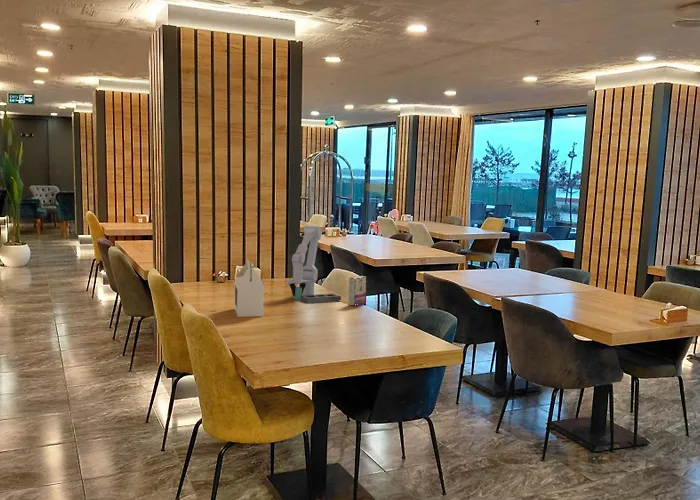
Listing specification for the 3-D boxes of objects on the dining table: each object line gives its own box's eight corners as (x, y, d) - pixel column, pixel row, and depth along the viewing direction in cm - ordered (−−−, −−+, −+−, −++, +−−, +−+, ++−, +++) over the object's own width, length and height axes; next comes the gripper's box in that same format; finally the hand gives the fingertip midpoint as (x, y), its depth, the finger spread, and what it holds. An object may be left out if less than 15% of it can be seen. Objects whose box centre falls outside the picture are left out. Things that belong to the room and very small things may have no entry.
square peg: (292, 298, 384) (293, 287, 383) (298, 298, 386) (299, 286, 385) (295, 299, 380) (295, 288, 379) (301, 299, 382) (301, 287, 381)
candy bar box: (359, 302, 377) (360, 275, 375) (365, 304, 374) (366, 276, 372) (347, 305, 368) (348, 277, 366) (354, 306, 365) (355, 278, 363)
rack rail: (300, 300, 378) (300, 295, 378) (333, 298, 389) (333, 293, 389) (307, 303, 370) (307, 298, 369) (340, 301, 380) (340, 296, 380)
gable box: (263, 316, 329) (264, 263, 326) (237, 317, 326) (238, 263, 323) (258, 308, 350) (259, 258, 348) (234, 308, 347) (235, 258, 344)
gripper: (289, 274, 374) (288, 297, 376) (311, 274, 381) (310, 296, 383) (284, 273, 381) (284, 295, 382) (306, 272, 387) (306, 294, 389)
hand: (297, 295), depth 383 cm, fingers closed on square peg, 4 cm apart
